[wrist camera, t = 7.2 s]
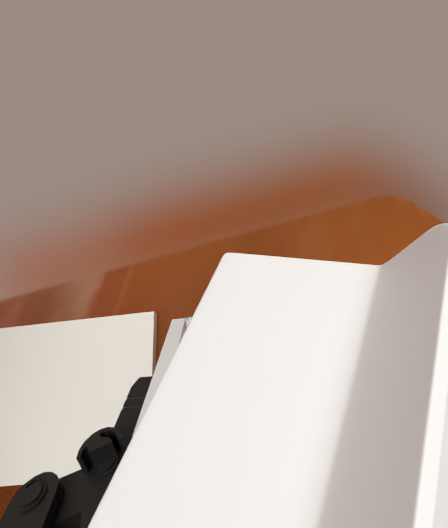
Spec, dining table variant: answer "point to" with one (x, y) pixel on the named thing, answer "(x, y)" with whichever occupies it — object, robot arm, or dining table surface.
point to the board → (66, 387)
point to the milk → (300, 401)
